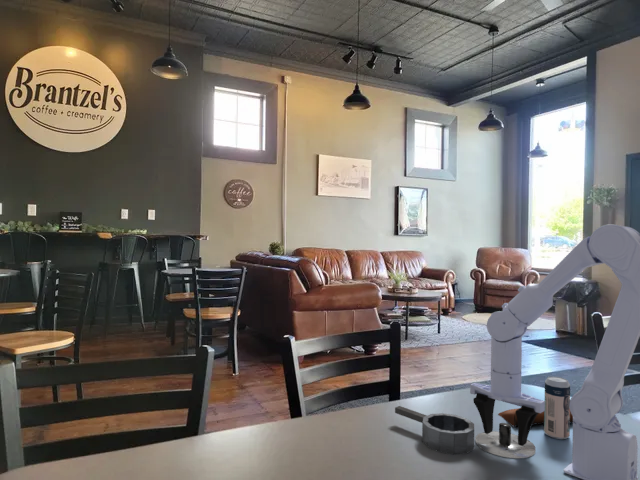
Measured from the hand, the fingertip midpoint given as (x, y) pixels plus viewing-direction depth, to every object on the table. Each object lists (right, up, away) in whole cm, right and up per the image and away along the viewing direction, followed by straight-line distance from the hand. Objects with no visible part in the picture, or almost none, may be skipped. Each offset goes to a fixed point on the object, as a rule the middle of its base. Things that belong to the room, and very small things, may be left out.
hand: (504, 438), depth 91 cm
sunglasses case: (+14, -3, +14) cm, 20 cm away
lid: (0, -2, 0) cm, 2 cm away
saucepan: (-14, -1, +4) cm, 14 cm away
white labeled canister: (+13, -2, +5) cm, 14 cm away
